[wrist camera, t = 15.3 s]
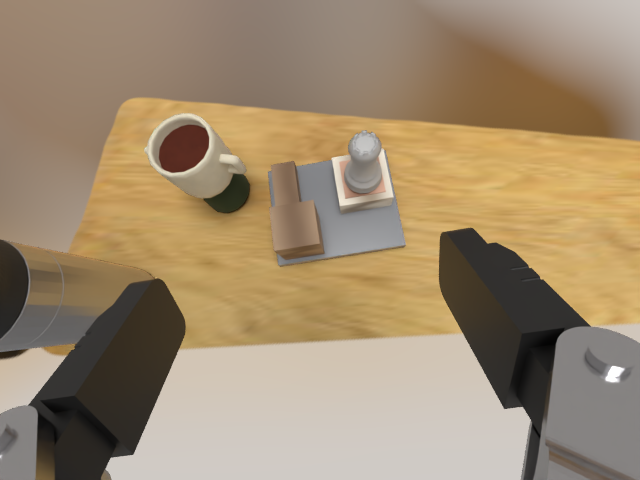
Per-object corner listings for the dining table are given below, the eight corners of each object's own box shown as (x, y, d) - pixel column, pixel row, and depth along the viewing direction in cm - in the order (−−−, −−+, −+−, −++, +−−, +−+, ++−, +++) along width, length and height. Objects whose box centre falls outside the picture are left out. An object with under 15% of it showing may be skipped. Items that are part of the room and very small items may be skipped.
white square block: (340, 214, 40) (339, 205, 37) (333, 168, 42) (331, 157, 39) (390, 205, 40) (393, 196, 37) (381, 160, 41) (383, 147, 38)
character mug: (272, 173, 44) (239, 117, 31) (261, 222, 42) (222, 183, 30) (199, 165, 45) (140, 108, 33) (187, 211, 44) (120, 170, 31)
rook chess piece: (389, 180, 37) (398, 145, 29) (359, 202, 37) (360, 172, 29) (366, 153, 38) (369, 112, 30) (336, 174, 38) (332, 139, 30)
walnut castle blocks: (285, 260, 39) (273, 250, 34) (275, 173, 42) (263, 151, 37) (324, 253, 39) (319, 243, 33) (311, 167, 42) (305, 143, 36)
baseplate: (280, 266, 41) (278, 265, 39) (270, 175, 44) (267, 171, 43) (404, 246, 40) (405, 244, 38) (384, 154, 43) (385, 150, 41)
